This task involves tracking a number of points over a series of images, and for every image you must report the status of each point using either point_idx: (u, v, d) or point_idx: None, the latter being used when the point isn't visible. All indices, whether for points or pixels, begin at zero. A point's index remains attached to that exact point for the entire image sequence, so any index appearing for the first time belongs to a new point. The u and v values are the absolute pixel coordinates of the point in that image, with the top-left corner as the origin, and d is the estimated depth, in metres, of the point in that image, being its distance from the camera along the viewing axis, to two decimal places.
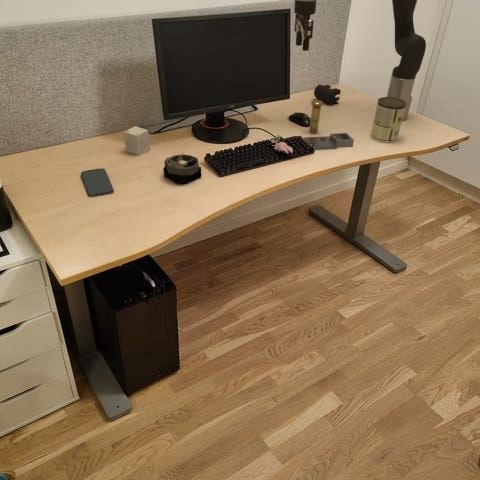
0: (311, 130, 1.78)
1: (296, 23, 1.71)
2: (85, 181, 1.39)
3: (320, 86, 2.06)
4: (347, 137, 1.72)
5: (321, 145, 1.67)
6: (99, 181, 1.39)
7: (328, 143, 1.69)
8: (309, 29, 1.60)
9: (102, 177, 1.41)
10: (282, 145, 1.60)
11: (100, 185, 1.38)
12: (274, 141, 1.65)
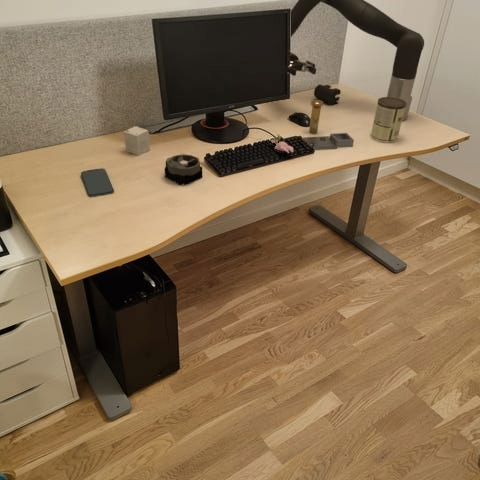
0: (311, 130, 1.78)
1: (308, 68, 1.84)
2: (85, 181, 1.39)
3: (320, 86, 2.06)
4: (347, 137, 1.72)
5: (321, 145, 1.67)
6: (99, 181, 1.39)
7: (328, 143, 1.69)
8: None
9: (102, 177, 1.41)
10: (282, 145, 1.60)
11: (100, 185, 1.38)
12: (274, 141, 1.65)
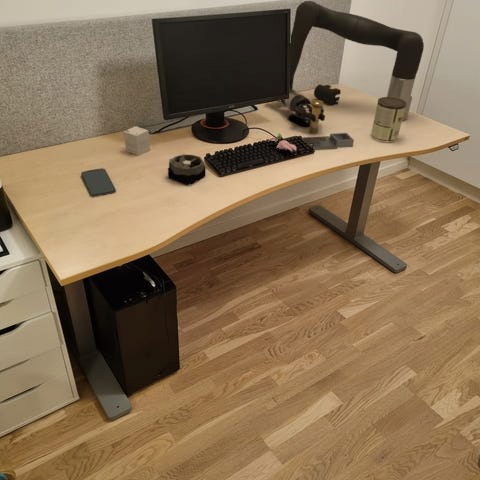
0: (311, 130, 1.78)
1: None
2: (86, 181, 1.39)
3: (320, 86, 2.06)
4: (347, 137, 1.72)
5: (321, 145, 1.67)
6: (101, 181, 1.40)
7: (328, 143, 1.69)
8: (297, 114, 1.77)
9: (103, 177, 1.41)
10: (285, 143, 1.61)
11: (102, 185, 1.38)
12: (275, 140, 1.66)
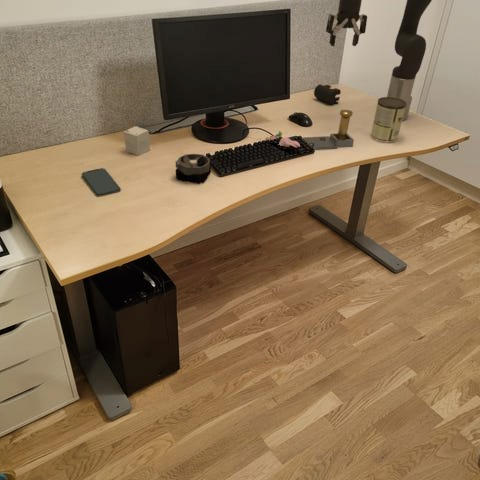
0: None
1: (360, 23, 1.67)
2: (89, 181, 1.39)
3: (320, 86, 2.06)
4: (347, 137, 1.72)
5: (321, 145, 1.67)
6: (103, 180, 1.40)
7: (328, 143, 1.69)
8: (328, 23, 1.64)
9: (105, 176, 1.42)
10: (287, 140, 1.63)
11: (105, 184, 1.38)
12: (275, 138, 1.67)
